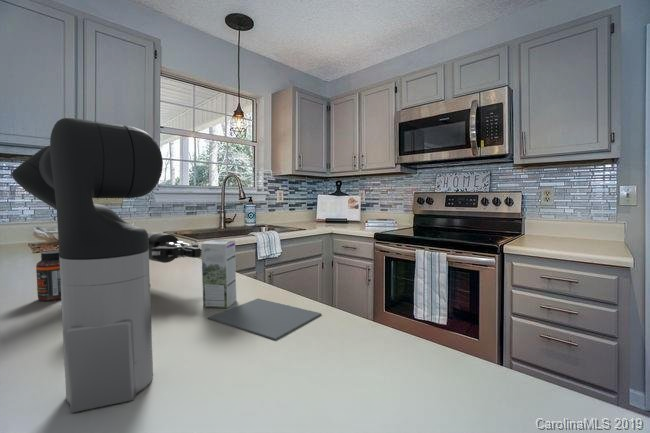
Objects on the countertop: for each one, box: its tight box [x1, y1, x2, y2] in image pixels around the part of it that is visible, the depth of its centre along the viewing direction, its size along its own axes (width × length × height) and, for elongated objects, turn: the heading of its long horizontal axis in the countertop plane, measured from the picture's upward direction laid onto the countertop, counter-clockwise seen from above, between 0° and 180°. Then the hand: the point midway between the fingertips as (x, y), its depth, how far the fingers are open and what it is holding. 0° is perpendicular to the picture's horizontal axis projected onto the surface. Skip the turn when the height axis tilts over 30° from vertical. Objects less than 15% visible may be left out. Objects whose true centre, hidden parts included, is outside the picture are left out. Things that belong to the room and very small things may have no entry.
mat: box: [207, 298, 322, 341], centre depth 65 cm, size 18×14×1 cm
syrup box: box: [200, 239, 237, 309], centre depth 72 cm, size 6×6×14 cm
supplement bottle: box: [35, 250, 61, 302], centre depth 77 cm, size 6×6×11 cm
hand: (197, 252), depth 76 cm, fingers closed
